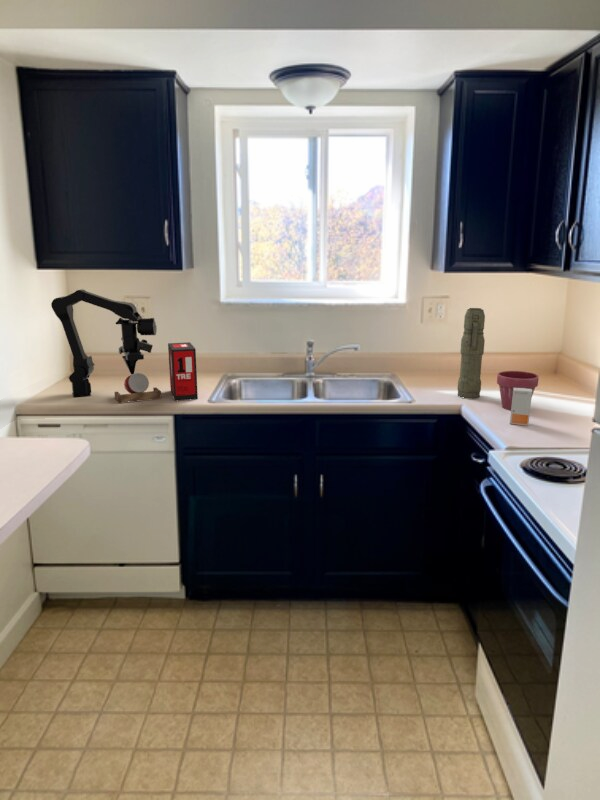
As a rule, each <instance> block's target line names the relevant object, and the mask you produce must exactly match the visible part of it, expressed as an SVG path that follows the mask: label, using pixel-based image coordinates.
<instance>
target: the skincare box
mask: <svg viewBox="0 0 600 800" xmlns="http://www.w3.org/2000/svg"><path fill="white" fill-rule="evenodd" d="M532 398H533V395H532V389H526V388H513V398H512V407H511V410H510V415H509V416H510V417H509V424H510V425H519V426H525V427H528V426H529V421H530V413H531V404H532Z"/></svg>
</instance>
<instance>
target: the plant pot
mask: <svg viewBox="0 0 600 800" xmlns="http://www.w3.org/2000/svg"><path fill="white" fill-rule="evenodd" d="M496 384H497V385H498V387H499V393H500V402H501V407H502V409H505V410H508V411H511V407H512V398H513V388H526V389H532V396H533V395H534V392H535V389H536V388H537V387H538V386H539V375H538V374H536V373H533V372H529V371H521V370H518V371H517V370H507V371H506V370H504V371H501V372H498V373H497V377H496Z"/></svg>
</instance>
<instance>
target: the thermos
mask: <svg viewBox="0 0 600 800" xmlns="http://www.w3.org/2000/svg"><path fill="white" fill-rule="evenodd" d="M484 311H485V310H484V309H482V308H481V307H480V308H479V307H469V308H467V309H466V312H465V314H464V321H463V335H462V337H461V340H460V350H459V351H460V355H461V357H460V369H459V378H458V380H457V395H458V396H460V397H464V398H463V399H465V398H477V399H479V398H481V397H480V395H481V390H482V380H481V375H482V362H483V355H484V351H485V336H484V333H485V332H484V330H485V322H486V315H485V312H484ZM458 396H457V397H458ZM460 397H459V398H460Z"/></svg>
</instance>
